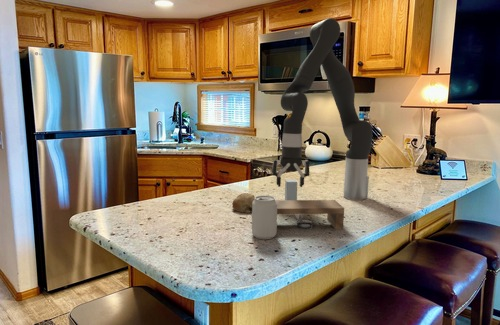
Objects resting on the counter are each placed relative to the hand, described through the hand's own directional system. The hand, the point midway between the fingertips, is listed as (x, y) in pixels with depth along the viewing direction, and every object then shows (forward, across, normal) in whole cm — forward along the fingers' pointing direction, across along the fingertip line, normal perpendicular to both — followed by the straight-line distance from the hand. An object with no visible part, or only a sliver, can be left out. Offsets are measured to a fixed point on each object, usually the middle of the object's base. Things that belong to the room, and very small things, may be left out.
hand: (289, 186), depth 144 cm
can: (+8, +13, +33) cm, 37 cm away
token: (+8, -1, +25) cm, 26 cm away
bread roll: (+8, +18, +4) cm, 20 cm away
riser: (+8, -1, +23) cm, 24 cm away
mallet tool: (+8, -1, +9) cm, 12 cm away
